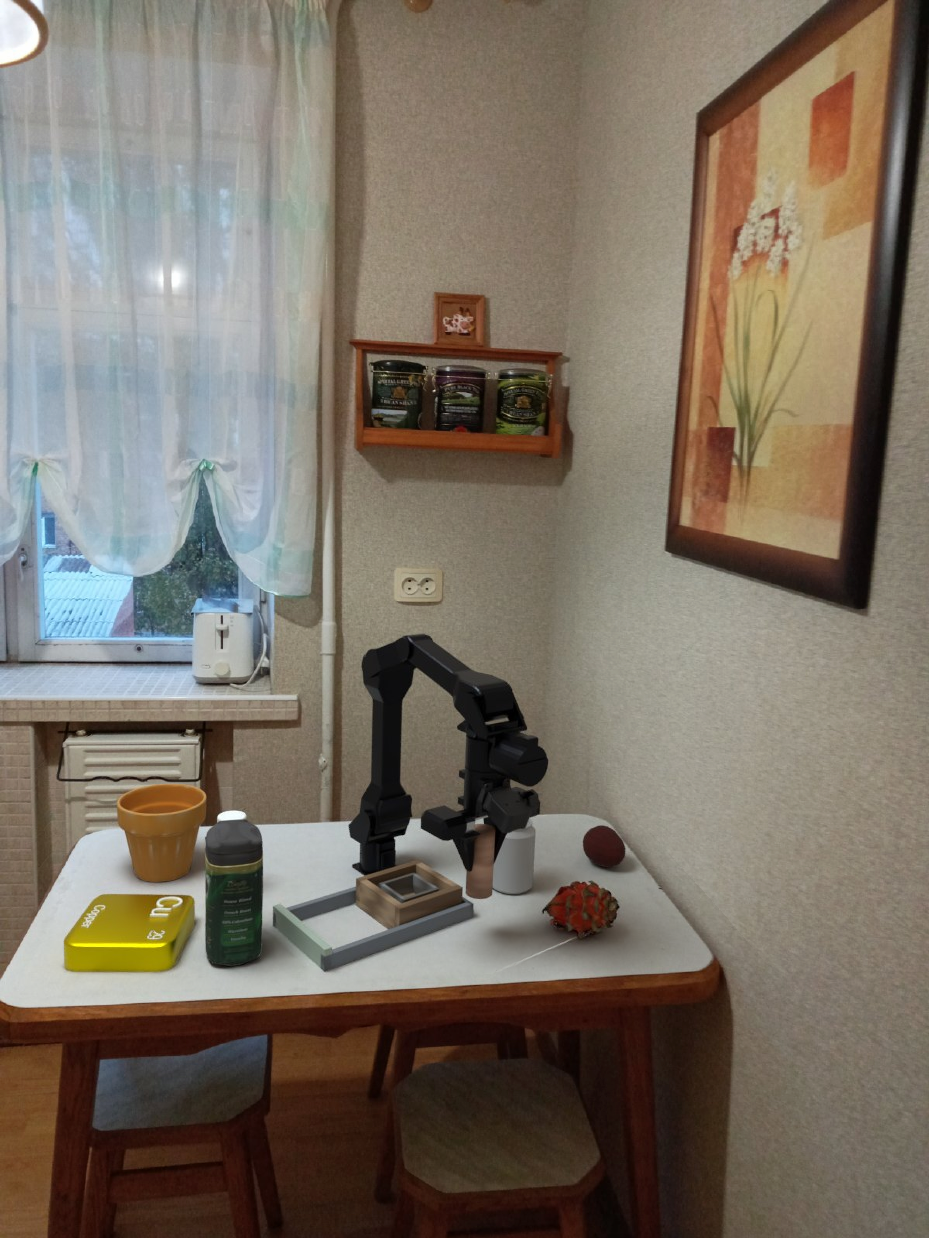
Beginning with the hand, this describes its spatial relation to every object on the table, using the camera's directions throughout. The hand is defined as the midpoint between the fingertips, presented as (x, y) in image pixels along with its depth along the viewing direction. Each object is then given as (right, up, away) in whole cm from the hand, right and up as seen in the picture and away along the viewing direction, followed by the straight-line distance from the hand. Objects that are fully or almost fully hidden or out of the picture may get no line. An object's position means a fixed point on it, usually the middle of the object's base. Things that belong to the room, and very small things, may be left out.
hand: (479, 866), depth 132 cm
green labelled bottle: (-35, -11, -4) cm, 37 cm away
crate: (-11, -9, +9) cm, 17 cm away
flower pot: (-53, -6, +19) cm, 57 cm away
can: (+5, -9, +18) cm, 21 cm away
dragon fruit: (+15, -11, +5) cm, 20 cm away
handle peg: (0, -4, +1) cm, 4 cm away
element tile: (-50, -11, -4) cm, 51 cm away
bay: (-16, -10, +5) cm, 19 cm away
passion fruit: (+23, -8, +28) cm, 37 cm away
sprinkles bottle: (-40, -8, +12) cm, 42 cm away
